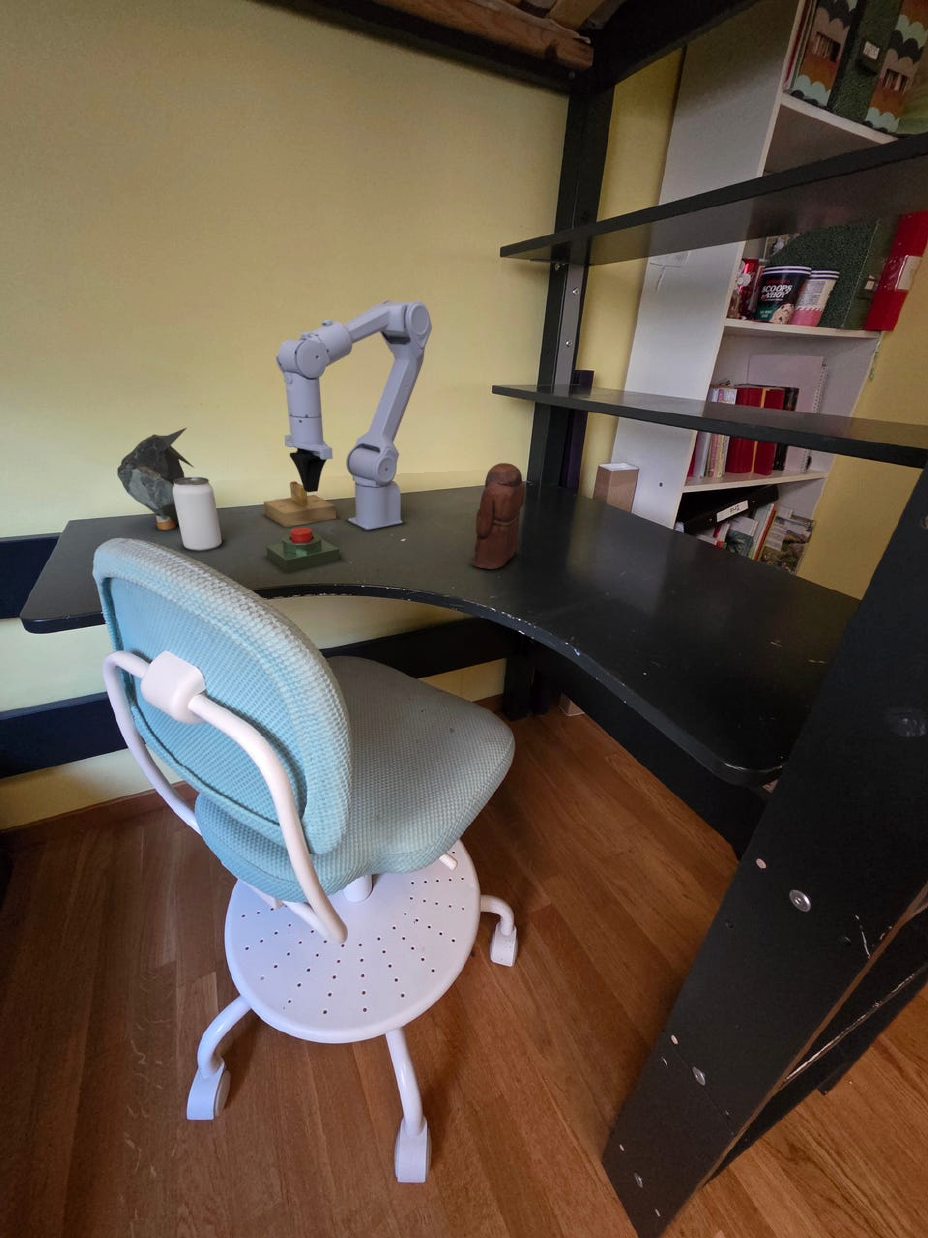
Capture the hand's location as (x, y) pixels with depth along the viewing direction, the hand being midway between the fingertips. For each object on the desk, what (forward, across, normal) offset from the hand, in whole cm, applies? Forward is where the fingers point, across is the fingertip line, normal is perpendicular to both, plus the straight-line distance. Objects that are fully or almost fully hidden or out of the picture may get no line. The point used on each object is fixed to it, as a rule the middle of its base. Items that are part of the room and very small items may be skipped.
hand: (311, 491), depth 98 cm
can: (+10, -7, -19) cm, 22 cm away
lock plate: (+9, -14, +4) cm, 17 cm away
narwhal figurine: (+10, -23, -20) cm, 32 cm away
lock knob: (+6, -14, +4) cm, 16 cm away
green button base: (+9, +9, -7) cm, 15 cm away
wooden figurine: (+10, +29, +22) cm, 38 cm away
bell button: (+6, +9, -7) cm, 13 cm away
